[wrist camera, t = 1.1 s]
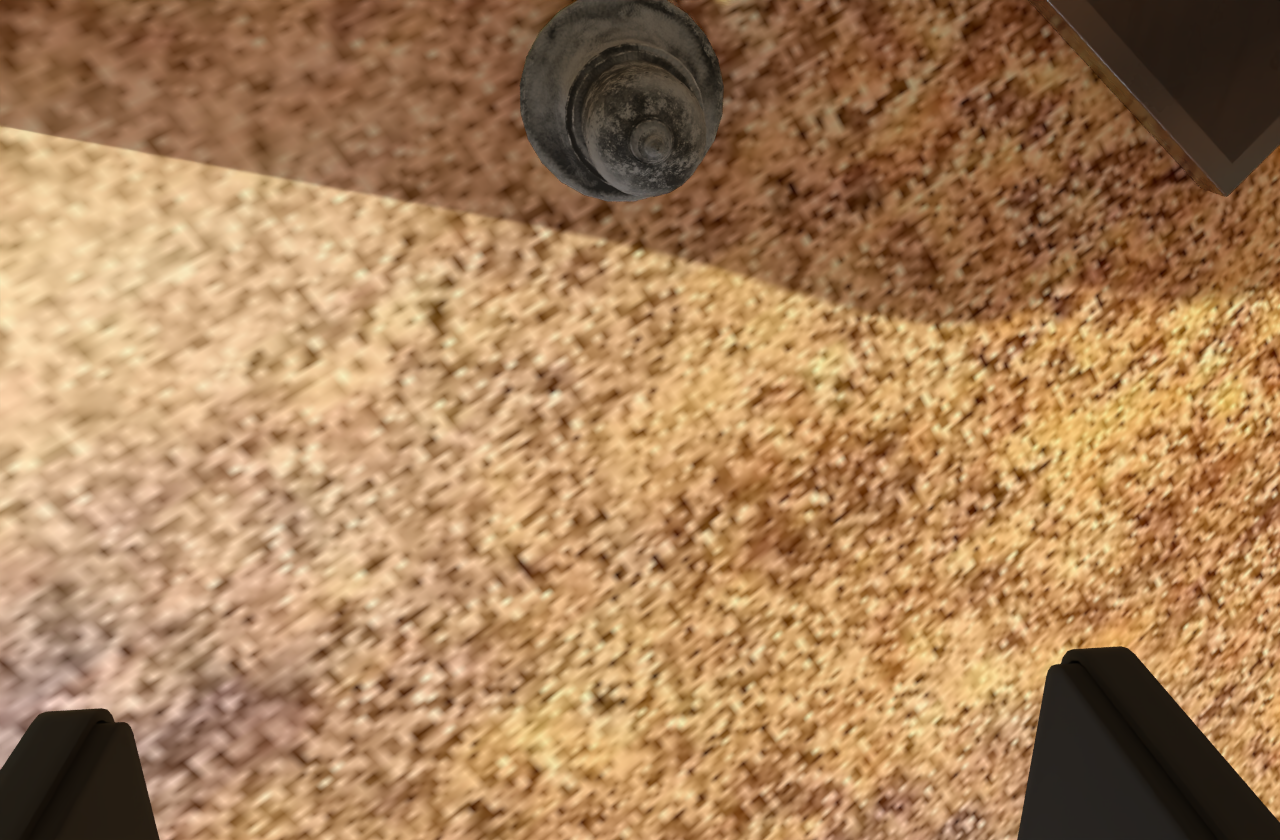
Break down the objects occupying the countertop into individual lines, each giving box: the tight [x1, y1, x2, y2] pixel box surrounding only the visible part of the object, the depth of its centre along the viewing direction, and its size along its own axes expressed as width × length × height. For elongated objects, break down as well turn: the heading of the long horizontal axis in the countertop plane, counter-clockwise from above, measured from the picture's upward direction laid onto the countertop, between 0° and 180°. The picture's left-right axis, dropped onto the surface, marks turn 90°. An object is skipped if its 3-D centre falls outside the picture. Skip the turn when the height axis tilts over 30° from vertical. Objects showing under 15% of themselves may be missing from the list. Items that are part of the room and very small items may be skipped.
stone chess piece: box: [520, 0, 724, 201], centre depth 28 cm, size 6×6×12 cm
